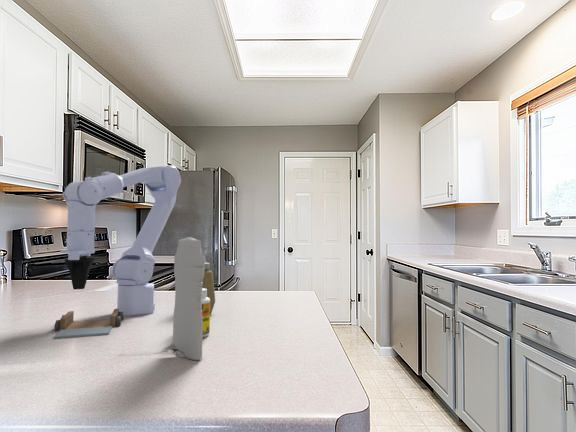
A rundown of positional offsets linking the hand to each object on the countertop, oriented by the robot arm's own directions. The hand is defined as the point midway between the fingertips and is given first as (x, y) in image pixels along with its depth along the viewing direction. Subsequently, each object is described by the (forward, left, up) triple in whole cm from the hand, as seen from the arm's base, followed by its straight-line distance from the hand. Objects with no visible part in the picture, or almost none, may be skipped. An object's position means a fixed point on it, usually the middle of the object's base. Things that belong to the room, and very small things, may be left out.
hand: (79, 288), depth 85 cm
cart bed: (-3, +1, -9) cm, 10 cm away
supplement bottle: (-26, +14, -10) cm, 31 cm away
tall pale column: (-23, +26, -10) cm, 36 cm away
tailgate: (-3, +6, -8) cm, 11 cm away
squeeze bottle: (-29, -7, -10) cm, 31 cm away
